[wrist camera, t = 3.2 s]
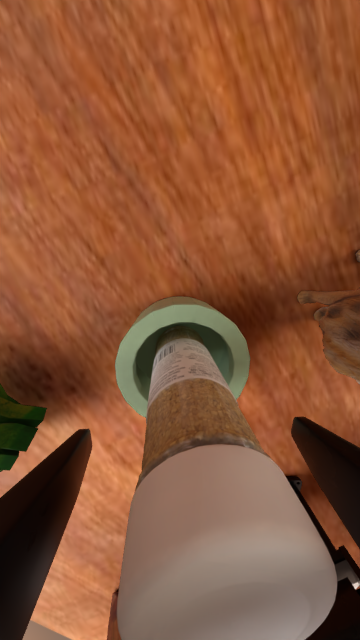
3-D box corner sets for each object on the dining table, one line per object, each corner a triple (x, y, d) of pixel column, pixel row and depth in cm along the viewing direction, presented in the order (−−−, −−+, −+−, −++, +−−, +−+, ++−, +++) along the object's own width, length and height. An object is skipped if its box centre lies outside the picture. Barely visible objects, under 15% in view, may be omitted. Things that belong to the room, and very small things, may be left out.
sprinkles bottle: (173, 377, 17) (196, 711, 4) (145, 341, 16) (50, 641, 3) (213, 352, 17) (380, 625, 4) (187, 313, 16) (296, 510, 3)
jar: (232, 296, 16) (257, 304, 11) (224, 387, 18) (243, 423, 14) (125, 296, 15) (109, 304, 11) (132, 391, 17) (120, 430, 13)
